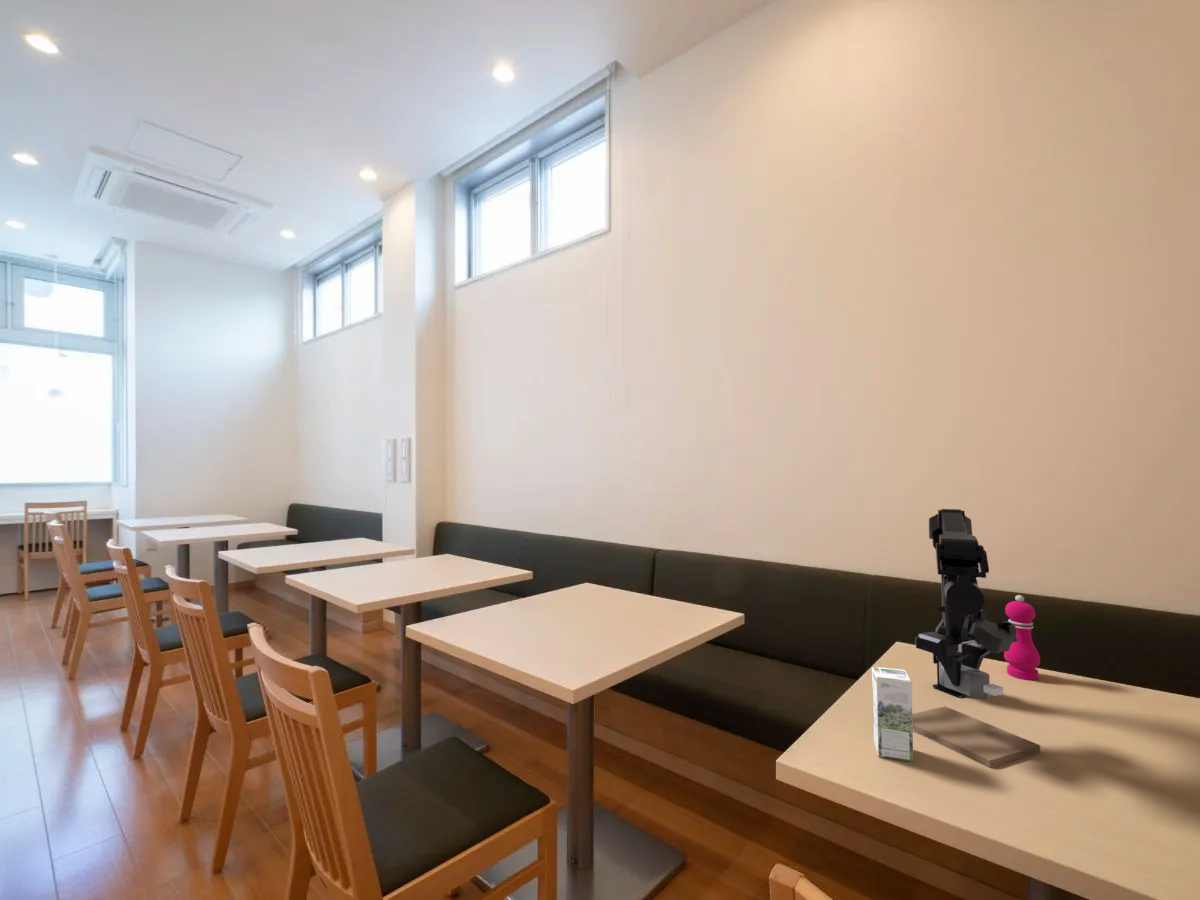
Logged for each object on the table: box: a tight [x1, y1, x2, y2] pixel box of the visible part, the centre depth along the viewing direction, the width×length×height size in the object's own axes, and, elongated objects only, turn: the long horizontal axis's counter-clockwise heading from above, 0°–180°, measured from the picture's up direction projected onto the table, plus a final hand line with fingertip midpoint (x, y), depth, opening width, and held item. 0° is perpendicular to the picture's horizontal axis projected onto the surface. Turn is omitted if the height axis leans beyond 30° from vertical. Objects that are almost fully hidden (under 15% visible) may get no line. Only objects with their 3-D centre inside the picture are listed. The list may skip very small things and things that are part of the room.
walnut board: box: [912, 706, 1041, 768], centre depth 104 cm, size 18×14×1 cm
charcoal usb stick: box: [939, 662, 1004, 700], centre depth 104 cm, size 11×4×4 cm, turn 22°
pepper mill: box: [1003, 594, 1041, 681], centre depth 136 cm, size 7×7×20 cm
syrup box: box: [871, 666, 914, 762], centre depth 99 cm, size 6×6×14 cm
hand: (963, 684), depth 105 cm, fingers closed on charcoal usb stick, 4 cm apart
